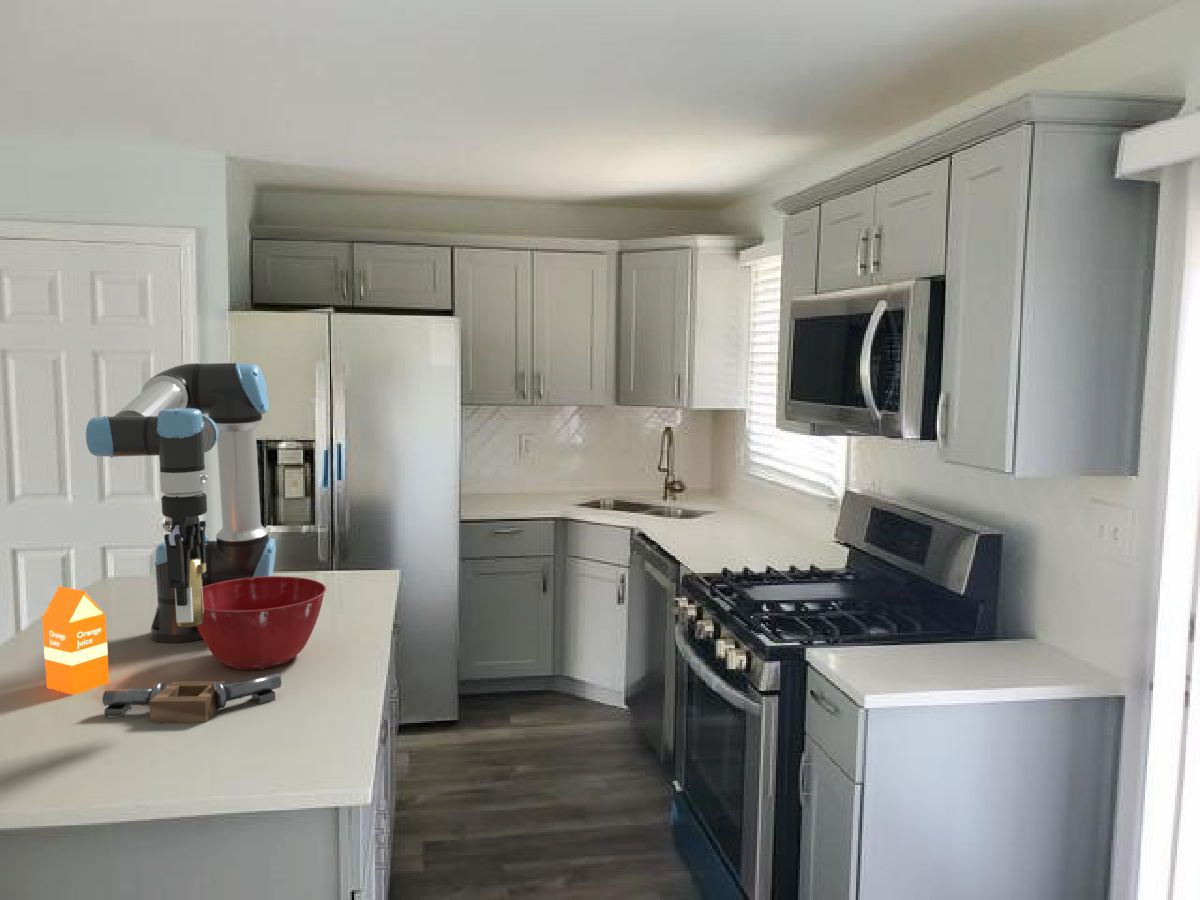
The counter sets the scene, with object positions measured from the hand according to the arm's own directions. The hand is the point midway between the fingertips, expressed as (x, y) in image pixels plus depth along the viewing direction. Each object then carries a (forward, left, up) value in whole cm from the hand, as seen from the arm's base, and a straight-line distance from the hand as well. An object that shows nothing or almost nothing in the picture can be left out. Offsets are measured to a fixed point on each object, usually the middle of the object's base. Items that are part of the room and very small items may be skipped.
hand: (190, 617), depth 169 cm
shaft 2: (-4, +9, -18) cm, 20 cm away
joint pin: (0, 0, -1) cm, 1 cm away
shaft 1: (0, -11, -18) cm, 21 cm away
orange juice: (-15, -29, -18) cm, 38 cm away
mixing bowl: (-29, +3, -18) cm, 34 cm away
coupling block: (0, -1, -18) cm, 18 cm away
